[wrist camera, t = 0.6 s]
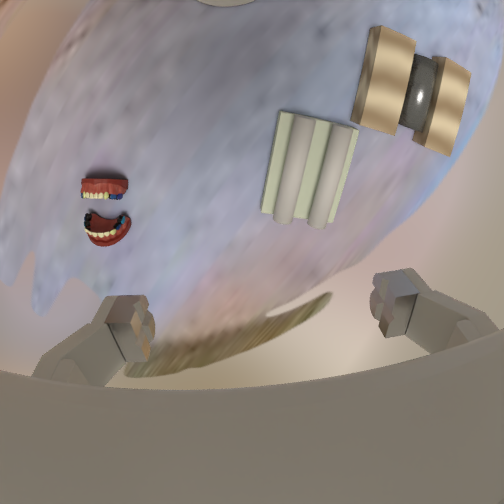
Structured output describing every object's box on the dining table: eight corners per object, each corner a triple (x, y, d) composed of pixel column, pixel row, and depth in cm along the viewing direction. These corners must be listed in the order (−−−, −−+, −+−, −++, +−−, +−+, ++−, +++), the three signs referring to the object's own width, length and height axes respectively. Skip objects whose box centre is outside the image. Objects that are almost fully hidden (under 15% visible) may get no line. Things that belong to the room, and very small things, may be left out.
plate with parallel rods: (279, 110, 39) (284, 114, 35) (354, 127, 41) (367, 134, 37) (260, 207, 48) (262, 221, 44) (329, 217, 50) (337, 232, 45)
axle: (403, 53, 34) (419, 53, 30) (427, 65, 34) (444, 66, 30) (388, 119, 40) (403, 125, 36) (412, 128, 41) (428, 135, 37)
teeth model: (113, 183, 38) (120, 252, 45) (129, 168, 43) (132, 232, 50) (67, 181, 37) (77, 247, 44) (85, 167, 43) (92, 228, 49)
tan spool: (370, 28, 32) (381, 25, 28) (457, 70, 34) (471, 72, 30) (350, 120, 40) (359, 124, 37) (437, 150, 43) (449, 157, 39)
